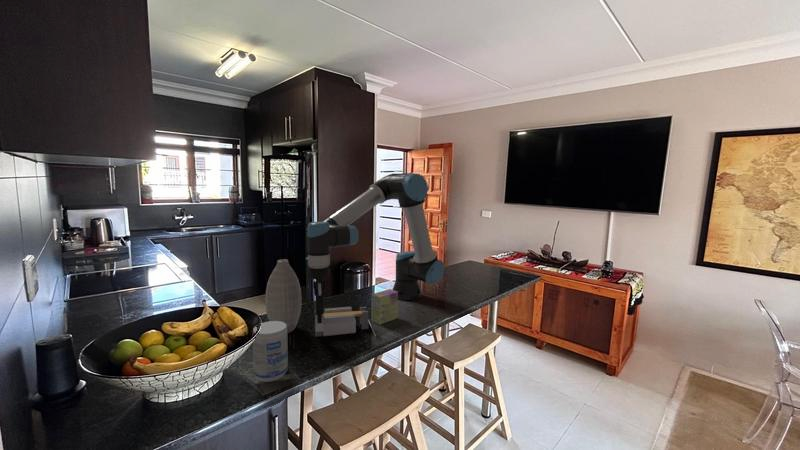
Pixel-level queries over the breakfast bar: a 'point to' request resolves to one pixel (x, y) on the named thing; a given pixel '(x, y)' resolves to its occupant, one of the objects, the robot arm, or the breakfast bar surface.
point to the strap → (344, 313)
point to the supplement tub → (270, 351)
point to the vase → (283, 295)
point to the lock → (317, 332)
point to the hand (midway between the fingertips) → (319, 330)
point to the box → (384, 306)
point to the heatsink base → (343, 321)
